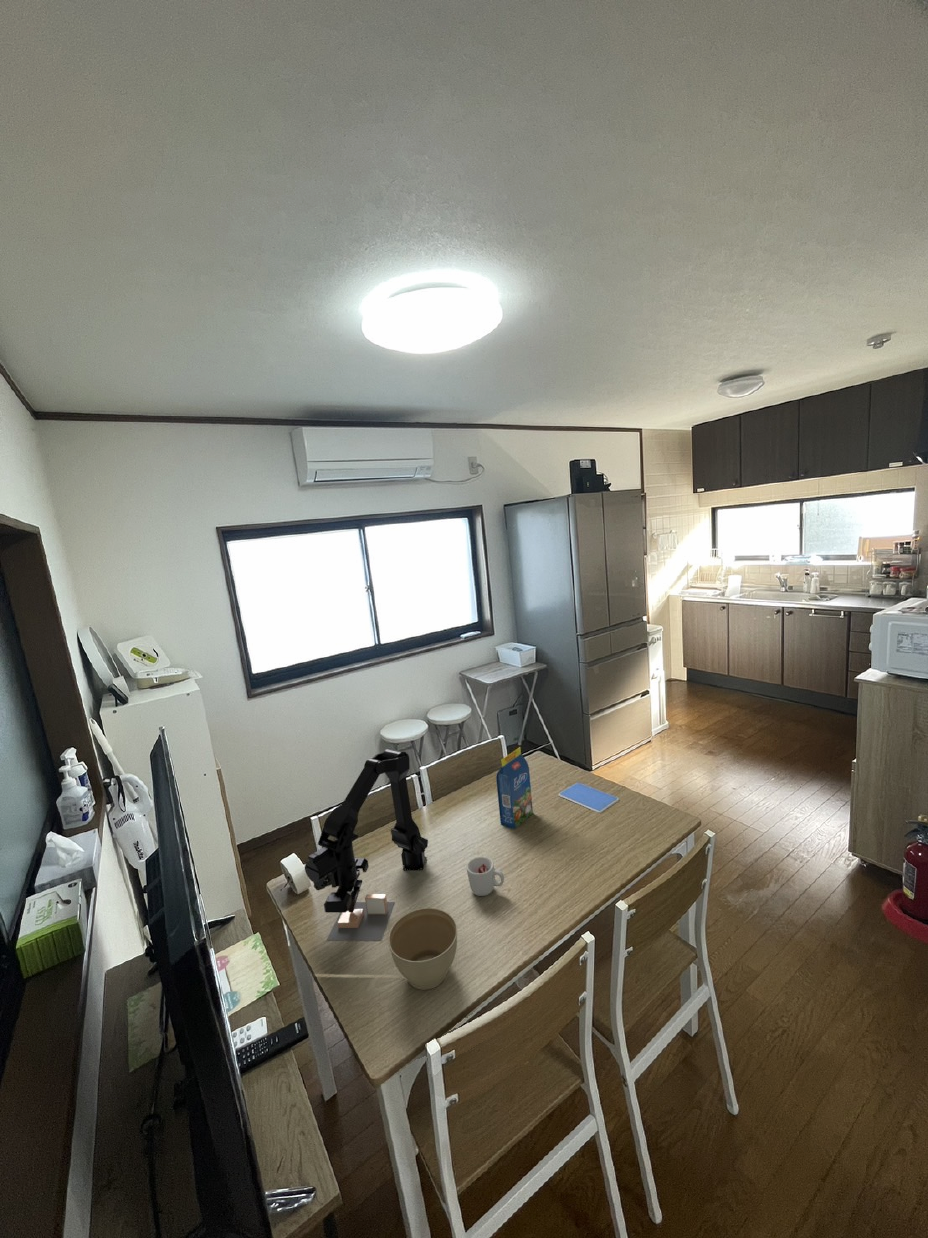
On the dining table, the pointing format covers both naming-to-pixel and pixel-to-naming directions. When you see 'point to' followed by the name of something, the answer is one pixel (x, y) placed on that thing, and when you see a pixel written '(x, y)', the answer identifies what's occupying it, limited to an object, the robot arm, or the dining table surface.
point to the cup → (482, 875)
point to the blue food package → (514, 790)
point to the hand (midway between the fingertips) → (351, 911)
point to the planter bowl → (424, 946)
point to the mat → (363, 926)
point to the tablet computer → (589, 797)
